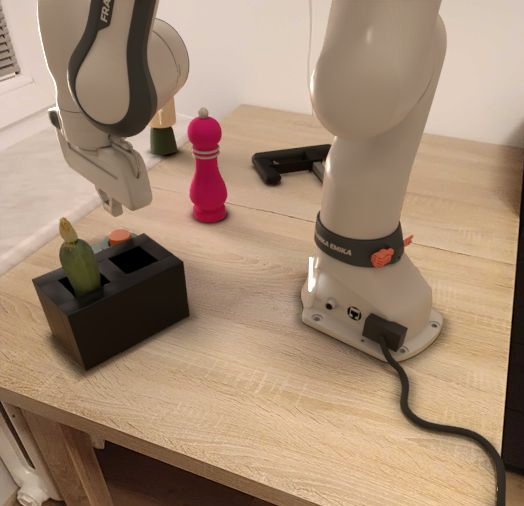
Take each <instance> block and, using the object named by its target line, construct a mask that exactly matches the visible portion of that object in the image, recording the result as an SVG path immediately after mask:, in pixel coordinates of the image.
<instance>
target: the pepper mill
mask: <svg viewBox="0 0 524 506" xmlns="http://www.w3.org/2000/svg"><path fill="white" fill-rule="evenodd" d="M197 115H198V116H195V117H194V118H193V119H191V121H190V122H189V123H188V126H187V129H186V134H187V138H188V141H189V142H190V143H191V147H190V149H191V155H192V156H193V157H194V161H195V162H194V163H195V168H194V169H195V170H194V175H193V178H192V179H191V182H190V186H189V199H190V201H191V203H192V204H193V207H192V210H193V216H194V218H195V220H197V221H199V222H200V223H201V222H202V223H216V222H219V221H221V220H224V218H225V217H226V214H227V213H226V212H227V211H226V204H225V202H226V201H227V199H228V188H227V185H226V182H225V180H224V178H223V176H222V174H221V171H220V168H219V163H218V159H219V156H220V154H221V151H220V148H221V146H220V145H219V143H220V141H221V140H222V136H223V131H222V128H221V125H220V123H219V122H218V120H217V119H216V118H214V117H212V116H209V115H210V113H209V110H208V109H207V108H206V107H200V108H199V109H198V111H197Z"/></svg>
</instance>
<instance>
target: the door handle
mask: <svg viewBox="0 0 524 506" xmlns="http://www.w3.org/2000/svg"><path fill="white" fill-rule="evenodd" d="M331 145H332V143H323V144H315V145H308V146H297V147H291V148H281V149H275V150H267V151H258V152H255V153H254V154H253V155H252V156H251V163H252V165H253V166H254V167H256V169H257V171H258V172H259V174H260V176H261V177H262V179H263V180H264V182H265V183H266V184H268V185H276V184H277V185H278V183H280V182H281V181H282V175H283V174H290V173H291V174H292V173H299V172H306V171H308V172H310V173H312V172H313V173H315V175H316V176H317V177H318V179H319V180H320V181H321V182H322V183H323V179H324V170H325V165H323V160H324V159H326V158H327V155H328V153H329V150H330V148H331Z"/></svg>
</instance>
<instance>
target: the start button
mask: <svg viewBox="0 0 524 506" xmlns="http://www.w3.org/2000/svg"><path fill="white" fill-rule="evenodd" d="M130 232H131V231H130V230H127V229H124V228H119V229H113V230H112V231H110V232H109V233H108V235H107V236H108V238H109V242H110V246H114V245H116V244H118V243H121V242H123V241H126V240H128V239H130V238H131V234H130Z"/></svg>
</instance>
